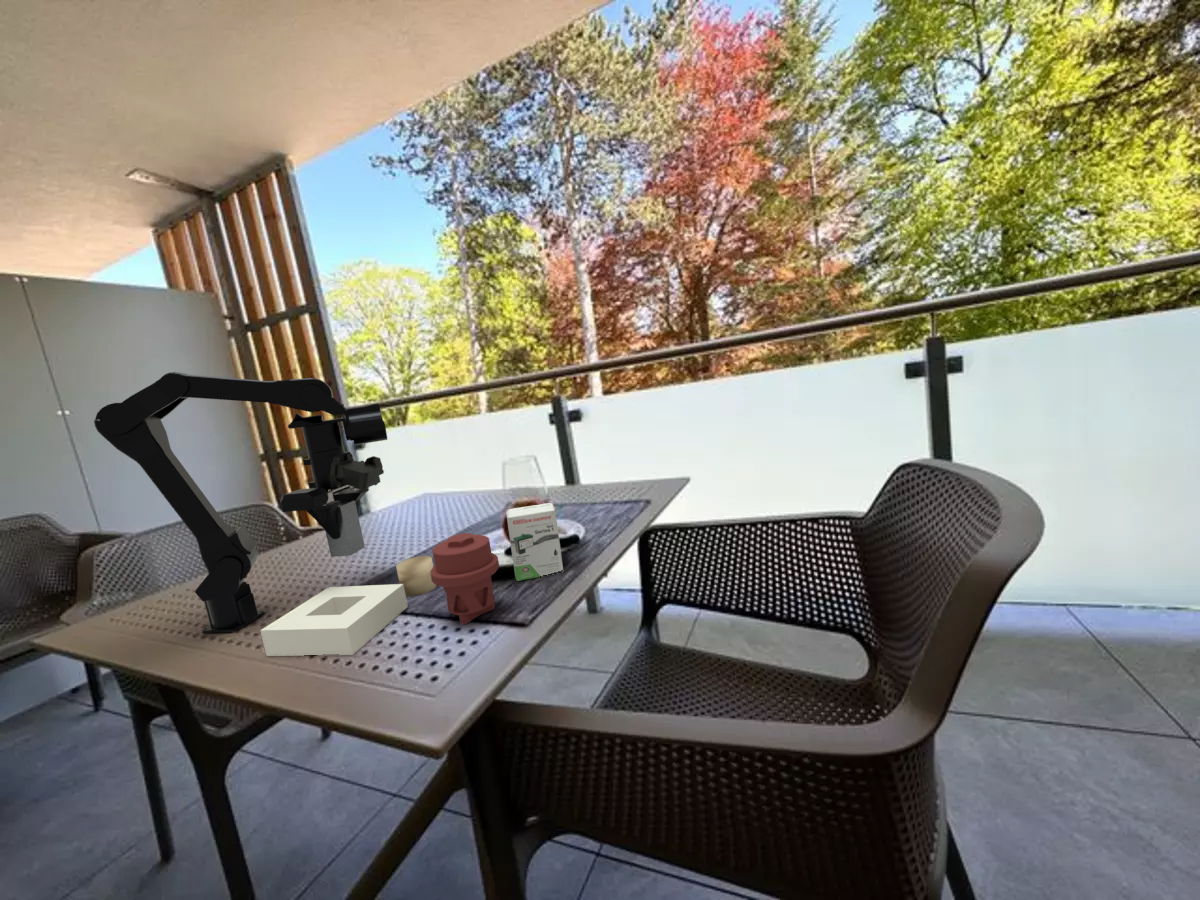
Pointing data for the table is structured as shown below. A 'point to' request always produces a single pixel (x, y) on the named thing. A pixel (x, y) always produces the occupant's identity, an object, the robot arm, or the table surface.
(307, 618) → the socket block
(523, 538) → the ink box
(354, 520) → the square bar
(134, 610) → the table surface
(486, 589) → the mechanical component
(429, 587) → the beige rounded lump
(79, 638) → the table surface
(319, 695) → the table surface
